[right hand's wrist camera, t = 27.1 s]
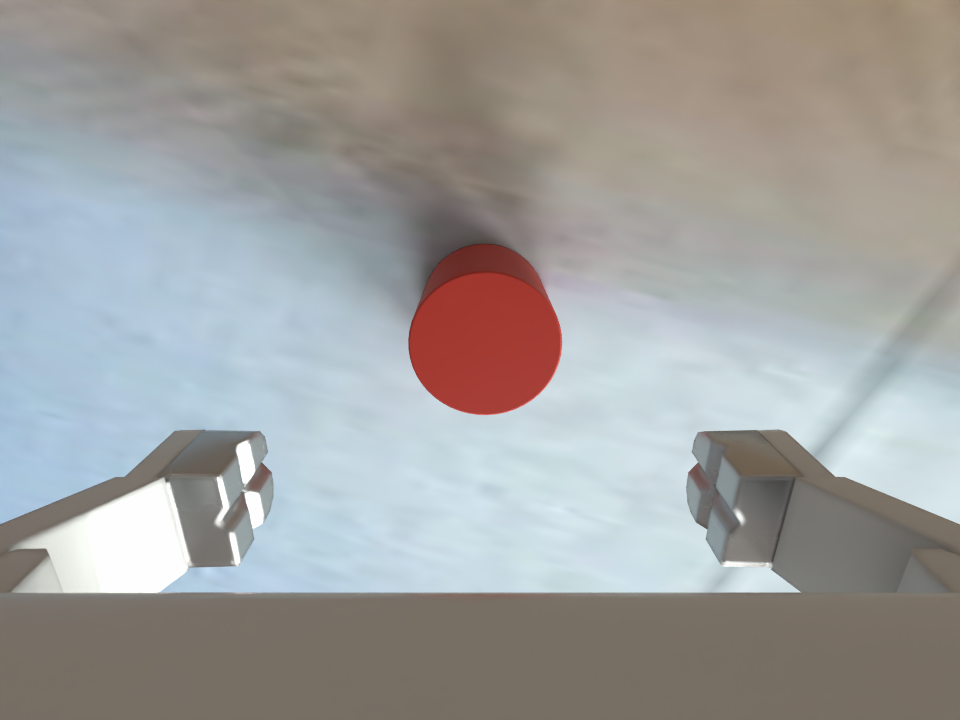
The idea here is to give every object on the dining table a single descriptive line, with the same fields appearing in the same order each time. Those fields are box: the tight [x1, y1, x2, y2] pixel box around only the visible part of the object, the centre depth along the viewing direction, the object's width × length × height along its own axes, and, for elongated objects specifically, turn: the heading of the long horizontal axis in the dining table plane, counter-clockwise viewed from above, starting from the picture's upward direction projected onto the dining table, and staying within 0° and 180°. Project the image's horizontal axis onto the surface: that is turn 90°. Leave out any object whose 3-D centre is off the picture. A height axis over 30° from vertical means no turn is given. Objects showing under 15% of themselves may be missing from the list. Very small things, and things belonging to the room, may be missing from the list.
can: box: [408, 244, 562, 415], centre depth 18 cm, size 5×5×5 cm
